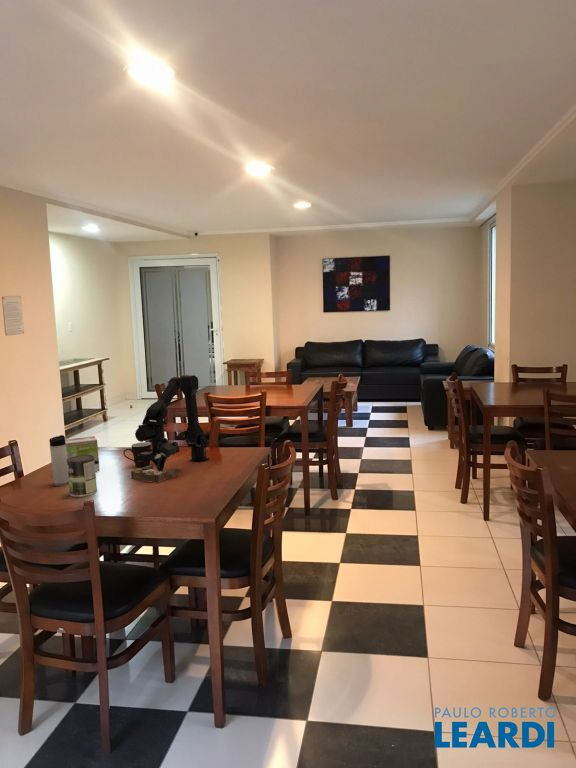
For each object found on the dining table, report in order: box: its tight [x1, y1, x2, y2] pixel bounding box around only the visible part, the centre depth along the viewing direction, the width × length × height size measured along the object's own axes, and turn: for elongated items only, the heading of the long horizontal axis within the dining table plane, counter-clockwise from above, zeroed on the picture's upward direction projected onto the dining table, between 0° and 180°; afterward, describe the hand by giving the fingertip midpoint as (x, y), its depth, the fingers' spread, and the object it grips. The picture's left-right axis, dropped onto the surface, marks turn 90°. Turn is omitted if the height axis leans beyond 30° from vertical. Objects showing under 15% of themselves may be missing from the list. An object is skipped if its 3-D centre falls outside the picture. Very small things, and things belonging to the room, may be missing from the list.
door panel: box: [142, 469, 165, 475], centre depth 259 cm, size 7×11×4 cm, turn 54°
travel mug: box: [49, 434, 69, 487], centre depth 256 cm, size 6×7×20 cm
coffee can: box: [67, 455, 98, 498], centre depth 242 cm, size 10×10×14 cm
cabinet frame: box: [130, 464, 178, 483], centre depth 259 cm, size 11×15×4 cm
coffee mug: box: [122, 441, 152, 469], centre depth 279 cm, size 12×9×10 cm
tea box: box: [65, 435, 100, 473], centre depth 274 cm, size 15×10×15 cm
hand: (160, 472), depth 262 cm, fingers closed
